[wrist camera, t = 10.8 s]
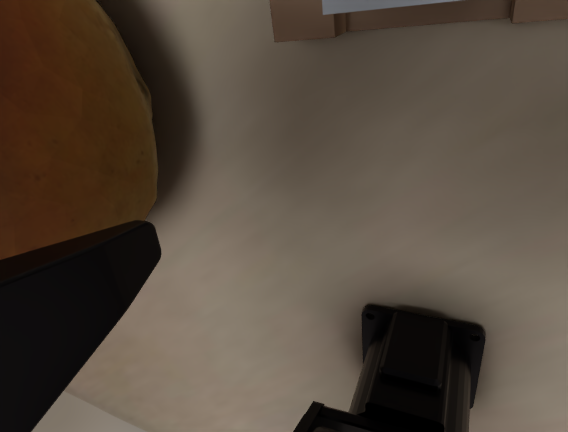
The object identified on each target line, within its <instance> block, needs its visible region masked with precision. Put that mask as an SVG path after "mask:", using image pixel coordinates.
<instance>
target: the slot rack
mask: <svg viewBox="0 0 568 432" xmlns="http://www.w3.org/2000/svg"><path fill="white" fill-rule="evenodd" d="M270 8H271V16H272V24H273V33H274V41H275V42H284V41H297V40H309V39H322V38H334V37H337V36H339V35H341V34H342V33H344V32H347V31H359V30H371V29H383V28H394V27H406V26H418V25H430V24H442V23H453V22H465V21H477V20H489V19H500V18H510V19H511V22H512V23H522V22H535V21H547V20H560V19H568V0H460V1H451V2H441V3H432V4H422V5H413V6H403V7H393V8H384V9H374V10H365V11H355V12H346V13H336V14H327V15H323V8H322V0H270Z"/></svg>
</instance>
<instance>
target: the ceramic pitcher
mask: <svg viewBox="0 0 568 432" xmlns="http://www.w3.org/2000/svg"><path fill="white" fill-rule="evenodd" d="M152 116H153V113H152V107H151V95H150V92H149V90H148V88H147V86H146V84H145V83H144V81H143V79H142V77H141V76H140V74H139V72H138V70H137V68H136V66H135V64H134V61H133V59H132V57H131V55H130V53H129V51H128V49H127V47H126V45H125V43H124V41H123V39H122V38H121V36H120V34H119V32H118V30H117V28H116V26H115V24H114V23H113V22H112V21H111V19H110V18H109V17H108V15H107V14H106V13H105V12H104V10H103V9H102V8H101V6H100V5H99V4H98V3H97V2H96V0H0V260H1V259H5V258H8V257H12V256H15V255H18V254H22V253H25V252H29V251H32V250H35V249H39V248H42V247H45V246H49V245H52V244H56V243H59V242H62V241H66V240H69V239H73V238H76V237H79V236H83V235H86V234H90V233H93V232H96V231H100V230H103V229H106V228H110V227H113V226H117V225H120V224H123V223H127V222H130V221H134V220H142V221H145V219H146V217H147V215H148V213H149V211H150V210H151V208H152V206H153V205H154V203H155V201H156V199H157V187H156V186H157V177H158V162H157V151H156V141H155V135H154V130H153V125H152Z"/></svg>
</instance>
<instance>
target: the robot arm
mask: <svg viewBox="0 0 568 432" xmlns="http://www.w3.org/2000/svg"><path fill="white" fill-rule="evenodd" d="M160 258H161V247H160V244H159V240H158V236H157V233H156V229H155V226H154V225H153V224H152V223H151V222H147V221H142V220H134V221H130V222H127V223H123V224H120V225H117V226H113V227H110V228H106V229H103V230H100V231H96V232H93V233H90V234H86V235H83V236H79V237H76V238H73V239H69V240H66V241H62V242H59V243H56V244H52V245H49V246H45V247H42V248H39V249H35V250H32V251H29V252H25V253H22V254H18V255H15V256H12V257H8V258H5V259H1V260H0V432H31V431H32V430H33V429H34V427H35V426H36V425H37V424H38V423H39V421H40V420H41V419H42V418H43V416H44V415H45V414H46V412H47V411H48V410H49V409H50V407H51V406H52V405H53V404H54V402H55V401H56V400H57V399H58V397H59V396H60V395H61V393H62V392H63V391H64V390H65V388H66V387H67V386H68V385H69V383H70V382H71V381H72V379H73V378H74V377H75V376H76V374H77V373H78V372H79V371H80V369H81V368H82V367H83V366H84V364H85V363H86V362H87V360H88V359H89V358H90V357H91V355H92V354H93V353H94V352H95V350H96V349H97V348H98V347H99V345H100V344H101V343H102V341H103V340H104V339H105V338H106V336H107V335H108V334H109V333H110V331H111V330H112V329H113V327H114V326H115V325H116V324H117V322H118V321H119V320H120V319H121V317H122V316H123V315H124V313H125V312H126V311H127V309H128V308H129V306H130V305H131V303H132V302H133V300H134V299H135V297H136V296H137V294H138V293H139V291H140V290H141V288H142V287H143V285H144V283H145V282H146V280H147V279H148V277H149V276H150V274H151V273H152V271H153V270H154V268H155V267H156V265H157V263H158V262H159V260H160ZM369 313H371V314H373V315H371V314H369ZM472 334H476V335H478V336H474V335H472ZM362 340H363V367H362V371H361V374H360V377H359V380H358V384H357V387H356V390H355V393H354V397H353V400H352V403H351V407H350V410H349V412H345V411H341V410H337V409H334V408H330V407H326V406H324V404H322V403H319V402H315V401H313V403H312V404H311V406H310V407H309V409H308V411H307V412H306V414H304V415H303V417H302V419H301V420H300V422H299V423H298V425H297V427H296V428H295V430H294V431H293V432H469V412H470V409H471V408H472V407H473V404H474V399H475V394H476V388H477V383H478V377H479V372H480V366H481V361H482V356H483V350H484V345H485V331H484V329H483V328H481V327H480V326H477V325H472V324H466V323H461V322H456V321H451V320H446V319H440V318H435V317H430V316H425V315H420V314H414V313H409V312H404V311H399V310H394V309H388V308H383V307H378V306H373V305H367V306H365V307H364V309H363V312H362Z"/></svg>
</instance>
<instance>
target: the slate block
mask: <svg viewBox="0 0 568 432" xmlns="http://www.w3.org/2000/svg"><path fill="white" fill-rule="evenodd" d="M451 1H460V0H322V8H323V15H327V14H336V13H346V12H355V11H365V10H374V9H384V8H393V7H403V6H413V5H422V4H432V3H441V2H451Z"/></svg>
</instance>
